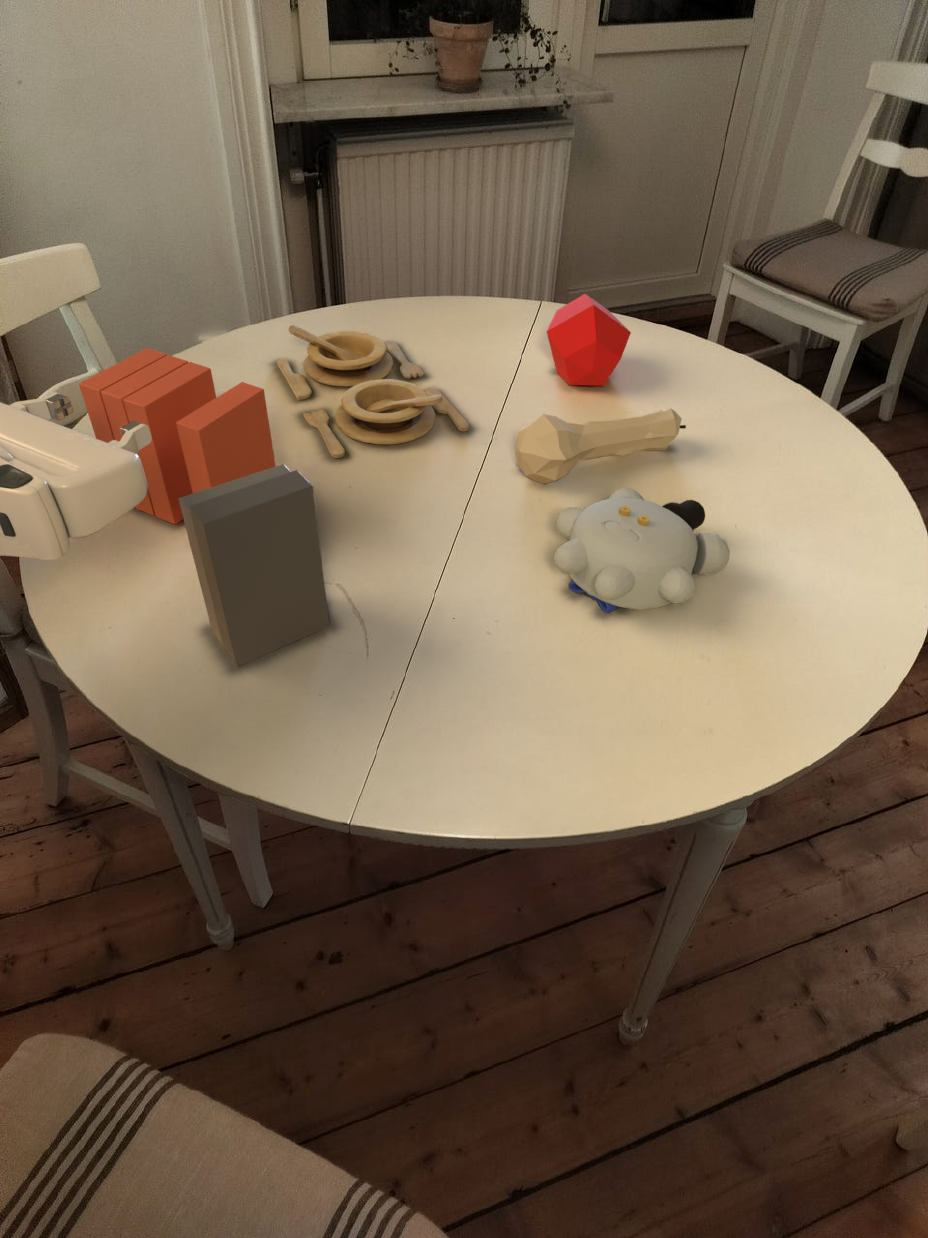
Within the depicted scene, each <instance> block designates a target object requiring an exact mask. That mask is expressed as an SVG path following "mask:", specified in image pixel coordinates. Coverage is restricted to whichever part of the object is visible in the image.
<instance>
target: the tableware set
mask: <svg viewBox="0 0 928 1238" xmlns="http://www.w3.org/2000/svg"><path fill="white" fill-rule="evenodd" d="M288 333H290V335H293V336H294V337H296V338H299V339H301V340H303V341H306V342H307V343H309V344H308V345H307V348H306V352H307V353H306V354H307V356H306V357H305V359H304V360H303V363H302V367H303V370H304V372H305V374H306V375H307V376H308V377H309V378H310V379H312V380H314V381H315V382H318V383H321V384H323V385H328V386H333V387H350V388H348V389H347V390H346V391H344V393H343V395H342V397H341V405H340V406H339V407H338V408H337V410H336V412H335V423H336V426H337V428H338V429H339V431H341V433H343V434H345V435H346V436H347V437H349V438H351V439H354V440H356V441H359V442H362V443H367V444H374V445H396V444H403V443H408V442H411V441H414V440H417V439H419V438H421V437H423V436H425V435H426V434H427V433H429V432H430V431H431V430H432V428H433V427H434V426H435V422H436V412H437V413H438V414H443V415H447V416H448V417H449V419H450V420H451V422H452V423H453V424H454V426H455V427H456V429H457V430H458V431H460V432H461V433H462V432H464V433H465V432H468V431H469V429H470V424H469V423H468V421H467V420H466V419H465V418H464V417H463V416H462V415H461V413H460V412H459V411H458V410H457V409H456V408H455V407H454V406H453V405H452V404H451V403H450V401H449V400H448V399H447V398H446V397H445V396H444V395H443V393H441V391H439V389H438V388H437V387H436V386H433V387H428V388H426V389H425V390H424V389H423V388H421V387H420V386H419V385H417V384H415V383H412V382H408V381H405V380H400V379H392V378H385V377H386V376H388V374H390V373H391V371H392V369H393V366H394V360H393V358H394V359H395V360H396V362H397V363H398V364H399V365H400V366H399V373H400V374H401V375H402V377H403V378H404V379H406V380H407V379H411V378H418V377H420V378H421V377H424V376H425V373H424V371H422V369H421V368H420V367H419V366H418V365H417V364H415V363H411V362H409V361H408V359H407V357H406V355H405V354H404V352H403V351H402V349H401V348H400V346H399V345H398V344H397V342H396V341H395V340H392V339H391V340H386V341H384V340H383V339H382V338H380V337H379V336H377V335H375V334H372V333H368V332H366V331H365V332H364V331H358V330H357V331H356V330H338V331H332V332H328V333H325V334H321V335H319V336H317V335H314V334H313V333H311V332H310V331H307V330H305V329H303V328H302V327H299V326H297V325H294V324H293V325H289V327H288ZM388 352H389V353H388ZM276 364H277V367H278V368H279V370H280V371H281V373H282V375H283V376H284V378H285V380H286V382H287V383H288V385H289V387H290V389H291V390H292V392H293V394H294V396H295V398H296V399H297V400H298V401H301V400H306V399H309V398H310V397H311V396H312V390H311V387H310V385H309V383H308V381H307V380H306V378H305V376H304V375H302V374H300V373H295V372H293V370H292V368H291V366H290V363H289V361H288V360H287V358H279V359H278V360H277V363H276ZM435 411H436V412H435ZM303 417H304V419H305V420H306V422H307V424H308V425H309V426H311V427H313V428H316V429H317V430H318V431H319V433H320V435H321V437H322V439H323V441H324V443H325V445H326V448H327V450H328V452H329V454H330V456H331V457H332V458H334V459H341V458H343V457H344V456H345V454H346V452H345V451H346V449H345V448H344V446H343V445H342V443H341V442H340V441H339V439H338V438H337V437H336V436H335V435H336V434H334V432H333V431H332V430H331V428H330V427H329V423H330V417H329V415H328V413H327V412H326V410H325V409H324V408H323V409H318V410H317V411H316V410H312V411H311V412H304V413H303Z"/></svg>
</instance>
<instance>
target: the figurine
mask: <svg viewBox="0 0 928 1238" xmlns="http://www.w3.org/2000/svg"><path fill="white" fill-rule="evenodd" d="M705 520H706V511H705V508H704V506H703V505H702V504H701V503H700V502H698V501H697V500H694V499H686V500H684V501H682V502H680V503H678V502H674V501H673V502H668V503H664V504H663V505H660V504H657V503H655V502H652V501H648V500H646V499H644V497H643V496H642V494H640V493H639V491H637V490H635V489H632V488H628V487H627V488H625V487H624V488H619V489H617V490H615V491H614V492H613V493H612V494H611V495H609V497H608V498H606V499H603V500H599V501H597V502H594V503H592V504H590V505H589V506H587V507H585V508H581V507H577V506H568V507H566V508H564V509H563V510H562V511H561V512H560V513H559V514H558V515H557V518H556V529H557V532H558V533H559V534H560V535H561V536H563V538H564V539H567V540H568V541H566V542H565V543H564V542H563V544H561V545H560V546H559V547H558V548H557V549H556V551H555V553H554V557H553V559H554V565H555V566H556V568H557V569H558V570H559V571H560V572H561V573H564V574H568V575H569V576H570V578H571V581H570V582H569V584H568V588H569V590H571V592H573V593H584V594H585V595H586V596H588V597H589V598H591V599H592V600H594V601H595V602H596V601H597V602H598V604H599V606H600V607H599V608H600V609H601V610H602V611H603V612H604V613H605V614H608V613H611V612H613V611H616V610H618V609H619V608H623V609H624V608H626V609H630V610H638V611H639V610H640V611H642V610H654V609H659V608H663V607H665V606H668V605H671V604H672V603H673V604H682V603H685V602H687V601H688V600H689V599H690V598H692V596H693V594H694V593H695V589H696V580H695V578H694V576H693V574H692V572H694V574H696V575H709V576H711V575H714V574H717V573H719V572H721V571H722V570H723V569H724V568H726V566H727V565H728V563H729V560H730V554H731V553H730V552H731V551H730V548H729V545H728V543H727V541H726V540H724V538H722V537H721V536H720V535H718V534H715V533H711V532H699V533H697V534H695V532H694V531H695V530H696V529H698V528H700V527H701V525H703V524H704V522H705Z"/></svg>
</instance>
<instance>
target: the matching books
mask: <svg viewBox="0 0 928 1238" xmlns="http://www.w3.org/2000/svg"><path fill="white" fill-rule="evenodd" d="M78 386H79V390H80V393H81V396H82V398H83V402H84V405H85V409H86V411H87V414H88V417H89V421H90V424H91V428H92V430H93V434H94V436H95V437H94V438H96V439H98V440H101V441H103V442H106V443H109V442H110V441H112V440H116V441H118V442H119V441H120V440H121V438H122V437H123V436H122V433H121V429H120V428H121V427H123V426H124V425H126V424H129V423H130V422H131V421H136V422H139V423H142V424H145V425H147V426H149V428H150V432H151V436H152V441H151V443H150V444H148V445H147V446H145V447H144V448H142V449H140V450H139V452H138V456H139V458H140V459H141V462H142V465H143V469H144V472H145V476H146V479H147V483H148V490H147V494H146V497H145V498H144V500H143V501H142V502H141V503H139V504H138V505H137V506H136V507H134V508H135V509H136V510H139V511H141V512H144V513H146V514H148V515H151V516H154V517H156V518H157V519H161V520H162V521H166V522H168V523H170V524H173V525H177V524H178V523H180V522H181V521H182V520H184V519H183V515H182V511H181V507H180V503H179V498H181V497H184V496H187V495H190V494H193V492H192V487H191V483H190V479H189V475H188V471H187V466H186V462H185V458H184V454H183V450H182V445H181V441H180V437H179V433H178V429H177V424H176V422H178V421H179V420H181V419H182V418H184V417H186V416H187V415H189V414H191V413H192V412H194V411H195V410H197V409H199V408H200V407H202V406H204V405H205V404H207V403H208V402H210V401H212V400H213V399H215V398H217V393H216V389H215V382H214V379H213V372H212V368H211V367H207V366H205V365H202V364H198V363H195V362H192V361H189V360H186V359H183V358H180V357H178V356H173V355H171V354H167V353H165V352H161V351H158V350H155V349H153V348H152V349H151V348H149V347H146V348H144V349H142V350H140V351H138V352H137V353H135V354H133V355H131V356H129V357H127V358H125V359H123V360H121V361H119V362H117V363H115V364H114V365H112V366H110V367H108V368H106V369H104V370H102V371H100V372H98V373H96V374H94V375H92V376H89V378H86V379H84V380H83V381H81V382H79V383H78Z"/></svg>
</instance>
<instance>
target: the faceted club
mask: <svg viewBox="0 0 928 1238" xmlns="http://www.w3.org/2000/svg"><path fill="white" fill-rule="evenodd" d="M681 423H682V417H681V416H680V415H679V413H678V412H676V411H675V410H674V409H672V408H667V409H665V410H658V411H655V412H652V413H648V414H646V415H645V414H644V415H642V416H635V417H630V418H622V419H617V420H615V419H614V420H602V421H585V422H584V423H583V424H581V423H572V422H567V421H565V420H563V419H561V418H559V417H557V416H556V415H550V414H541V415H538V416H535V417H532V418H530V419H529V420H528V421H527V422H526V423H525V424H524V425H523V426H522V427H521V428H520V429H518V431H517V434H516V438H515V442H514V452H515V453H514V454H515V457H516V458H515V459H516V464H515V465H516V467H518V468H519V469H520V470H521V472H522V473H523V474H524V475H525V476H526V477H527V478H530V479H532V480H533V481H535V482H538V483H539V484H542V485H543V484H547V483H552V482H556V481H558V480H560V479H561V478H564V477H565V476H566V475H568V473H570V472H571V471H572V469H573V468H574V467H575V466H576V465H578V463H579V462H580V461H585V460H590V459H597V458H602V457H608V456H609V457H610V456H615V455H617V456H622V457H624V456H627V455H630V454H633V453H636V452H639V451H659V452H660V451H661V452H662V451H664V452H665V451H666V450H667V449H668V448H669V445H670V444H671V443H672V442H673V441H674V440H675V439H676V438H677V437H678V435H679V432H680V429H684V430H685V429H686V428H687V425H686V424H681Z"/></svg>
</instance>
